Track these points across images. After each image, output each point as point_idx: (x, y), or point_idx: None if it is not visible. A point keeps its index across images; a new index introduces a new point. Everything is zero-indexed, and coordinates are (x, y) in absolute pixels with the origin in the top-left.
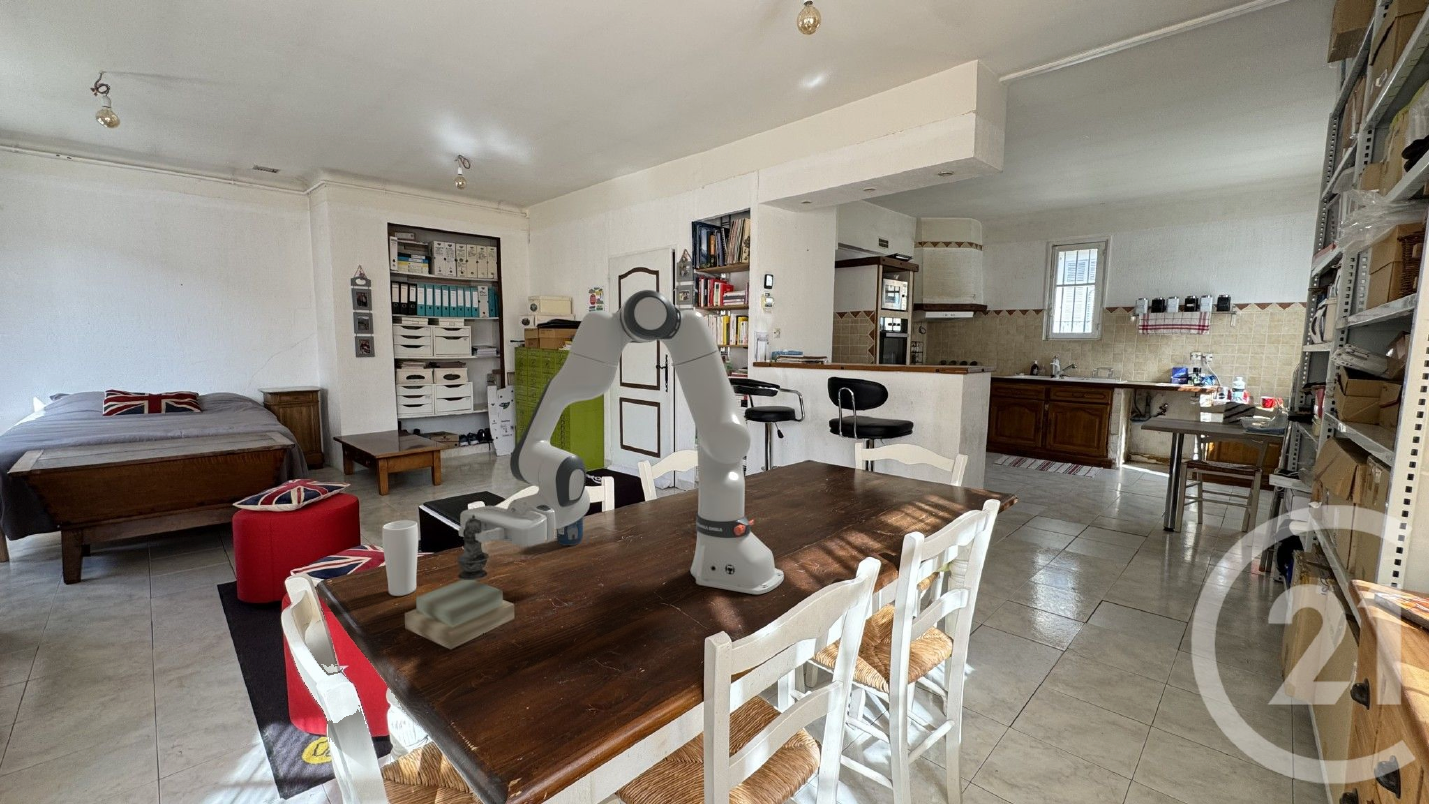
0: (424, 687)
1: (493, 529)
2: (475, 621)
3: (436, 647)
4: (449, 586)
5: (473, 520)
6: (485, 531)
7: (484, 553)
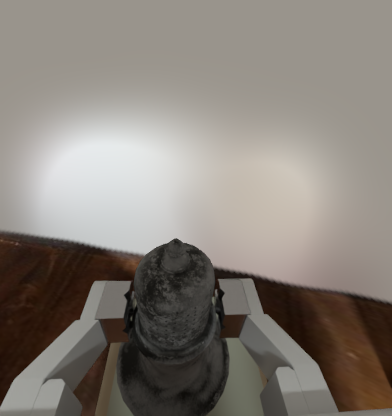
0: (88, 258)
1: (59, 357)
2: (109, 356)
3: None
4: (249, 371)
5: (161, 252)
6: (94, 312)
7: (154, 398)
